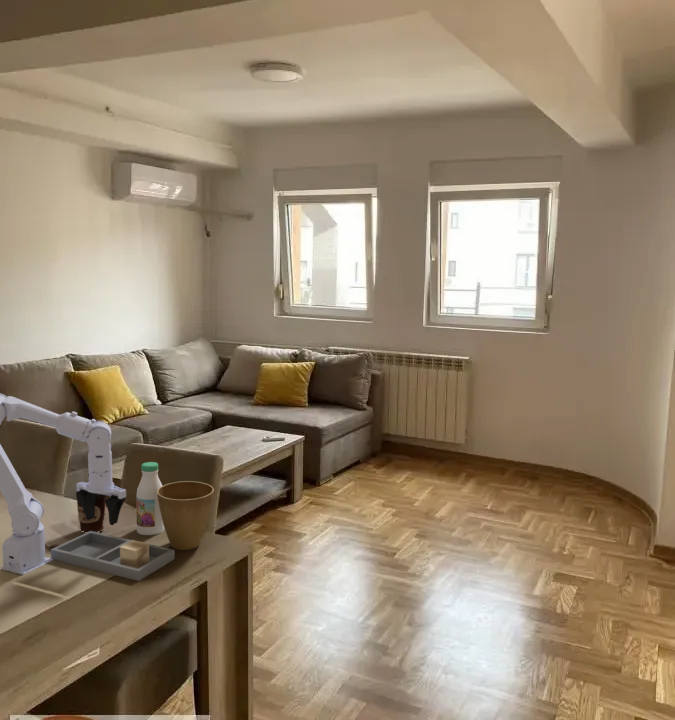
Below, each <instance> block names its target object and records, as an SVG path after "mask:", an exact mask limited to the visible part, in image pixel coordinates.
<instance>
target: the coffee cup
mask: <svg viewBox="0 0 675 720" xmlns="http://www.w3.org/2000/svg"><path fill="white" fill-rule="evenodd" d="M79 492H80V491H77V490H76V492H75V496H76V495H77V494H79ZM107 497H108V495H102V494H96V499H95V515H94V518H92V519H90V520H87V519H86V516H85V513H84V510H83V507H82V505H81V503H80V502H79V500H78V499H77V498H76V505H77V513H78V514H77V517H78V521H79V527H80V529H81V531H84V532H89V531H93V532H98V531H101V530H103V529H104V530H105V527H104V520H105V516H106V510H107V509H106V508H107V505H106V503H105V500H106V499H107ZM80 529H79V530H80ZM104 530H103V531H104ZM81 531H80V532H81Z"/></svg>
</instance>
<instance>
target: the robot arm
mask: <svg viewBox="0 0 675 720" xmlns="http://www.w3.org/2000/svg"><path fill="white" fill-rule="evenodd" d="M5 418H6V422H10V421H14V420H18V419H24V420H29V421H31V422H36V423H38V424H42V425H46V426H49V427H53V428H54V429H55V431H56V432H57V434H59V435H61V436H64V437H67V438H71V439H73V440H76V441H79V442H82V443H84V442H86V443H87V445H88V453H87V460H88V461H87V463H88V464H87V465H88V466H87V468H88V469H87V470H88V482H87V481H86V482H85V481H80V482H77V483H76V484H75V485H76V492H77V491H80V492H79V494H77V495H76V494H75V498H76V500H77V499H78V500H79V502H80V503H81V505H82V507H83V510H84V513H85V516H86V519H87V520H90V519H92V518H94V515H95V499H96V494H102V495H107V497H108V498H106V500H105V503H106V508H107V511H108V513H107V514H108V523H109V525H110V526H113V525H115V524H117V523H118V520H119V516H120V512H121V509H122V506H123V505H124V503H125V501H126V499H127V489H126V488H121V487H119V486H117V485H115V482H113V453H112V443H111V441H112V429H111V426H110V425H109V424H107V422H104V421H102V420H96V419H95V418H92V419H88V418H86V417H83V416H79V415H78V412H76V411H71V412H68V411H66V412H64V413H61V414H59V413H56V412H53V411H51V410H48V409H46V408H44V407H40V406H39V405H35V404H33V403H30V402H28V401H25V400H22V399H20V398H17V397H15V396H10V395H8V396H7V395H5V394H4V393H0V424H1V423H2V422H3V421H4V419H5ZM0 493H1V494H2V496H3V497H4V500H5V501H6V507H7V512H8V515H9V516H10V519H11V528H12V533H11V535H10V536H9V537H8V538H6V539H5V540H4V541H3V542H2V564H3V565H2V566H1V567H0V569H1V570H3V571H7V572H11V573H14V574H18V575H22V576H23V575H26V574H27V573H30V572H32V571H34V570H36V569H38V568H40V567H42V566H44V565H46V564H48V563H50V562H52V561H54V560H53V559H51V557H47V556H46V545H45V544H46V540H45V539H46V537H45V526H44V524H43V522H42V521H41V520H42V517H43V516H44V514H45V510H44V505H43V503H41V502H40V501H39V500H38V499H36V498H35V497H34V495H33V494H32V493H31V492H30V491H28V489H26V486H25V485H24V483H23V482H22V480H21V477H20V476H19V475H18V473H17V471H16V469H15V468H14V466H13V464H12V462H11V460H10V459H9V456H8V455H7V454H6V452H5V450H4V448H3V447H2V445H1V443H0Z"/></svg>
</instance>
